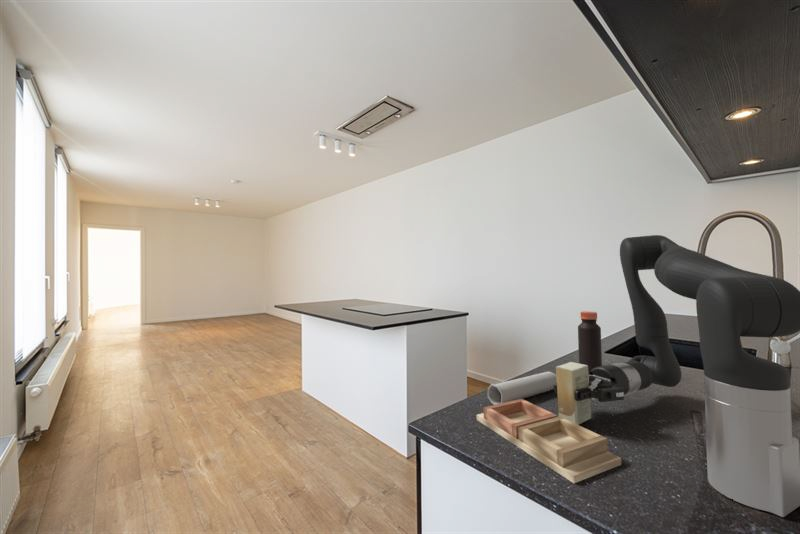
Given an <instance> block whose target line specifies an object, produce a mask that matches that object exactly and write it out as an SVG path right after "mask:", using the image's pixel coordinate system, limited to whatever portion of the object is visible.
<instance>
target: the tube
mask: <svg viewBox="0 0 800 534" xmlns="http://www.w3.org/2000/svg"><path fill="white" fill-rule="evenodd" d="M554 383H557V377H556V372H555V373H554V372H552V371H544V372H541V373H540V372H539V373H535V374H532V375H528V376H523V377H520V378H515V379H512V380H507V381H503V382H498V383H491V384H490V385H489V387H488V388H487V398H488V400H489V401H490V403H491V404H492V405H496V404H500V403H505V402H509V401H513V400H518V399H523V400H525V399H526V398H531V397H534V396H536V395H540V393H541V394H543V393H547V391H548V392H551V391H554ZM550 390H551V391H550Z"/></svg>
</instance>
